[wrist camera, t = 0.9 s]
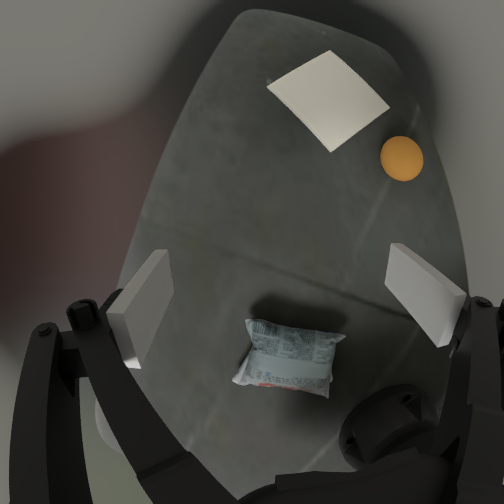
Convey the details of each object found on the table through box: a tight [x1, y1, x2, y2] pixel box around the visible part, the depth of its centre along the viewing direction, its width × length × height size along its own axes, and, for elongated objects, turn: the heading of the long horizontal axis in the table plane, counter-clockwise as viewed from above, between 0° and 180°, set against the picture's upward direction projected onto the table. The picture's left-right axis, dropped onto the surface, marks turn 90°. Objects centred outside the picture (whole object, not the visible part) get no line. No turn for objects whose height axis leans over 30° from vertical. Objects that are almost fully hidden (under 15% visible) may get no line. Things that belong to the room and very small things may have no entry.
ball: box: [380, 136, 423, 181], centre depth 29 cm, size 6×6×6 cm
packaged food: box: [232, 318, 346, 399], centre depth 30 cm, size 9×12×5 cm
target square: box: [267, 50, 390, 152], centre depth 31 cm, size 12×12×1 cm
